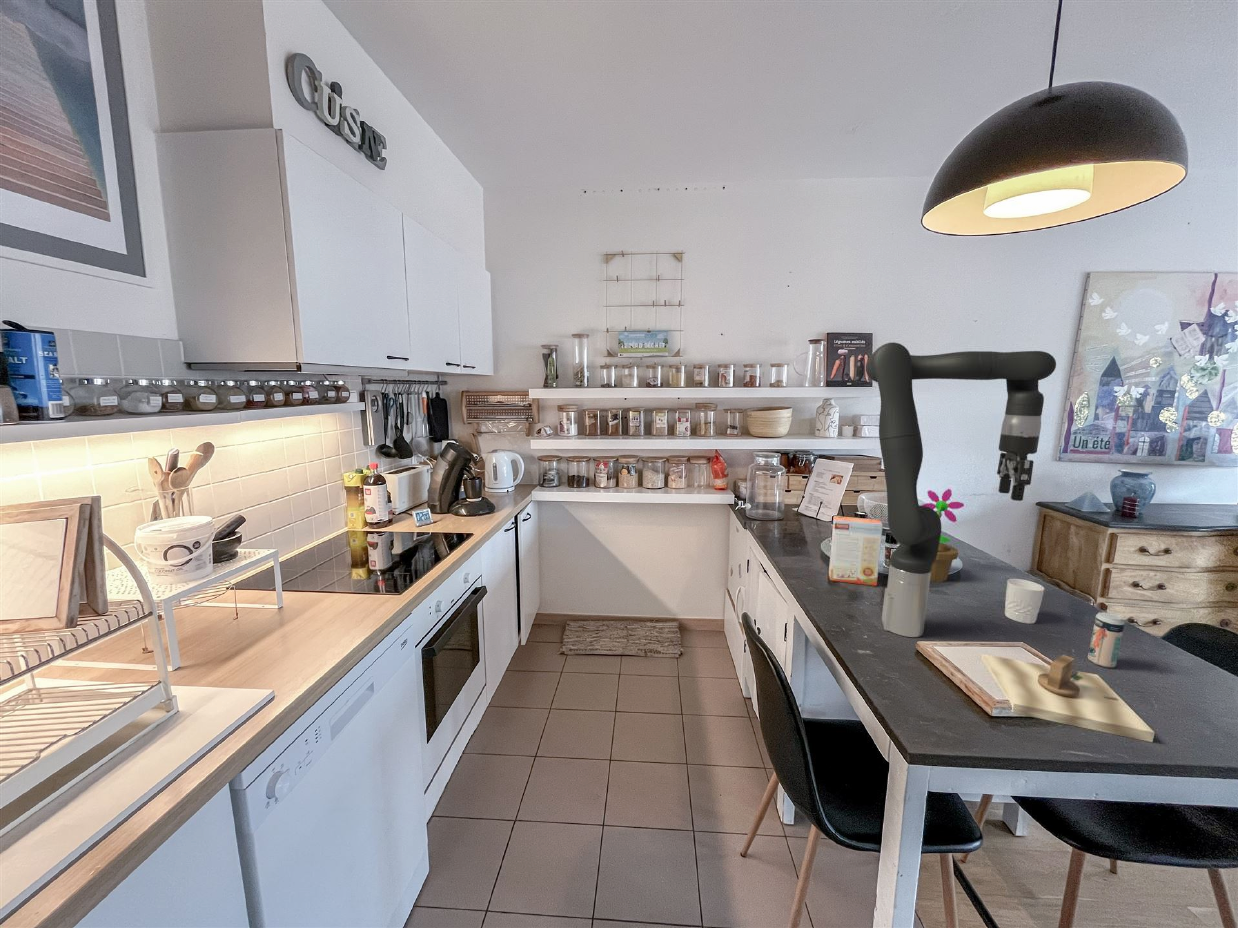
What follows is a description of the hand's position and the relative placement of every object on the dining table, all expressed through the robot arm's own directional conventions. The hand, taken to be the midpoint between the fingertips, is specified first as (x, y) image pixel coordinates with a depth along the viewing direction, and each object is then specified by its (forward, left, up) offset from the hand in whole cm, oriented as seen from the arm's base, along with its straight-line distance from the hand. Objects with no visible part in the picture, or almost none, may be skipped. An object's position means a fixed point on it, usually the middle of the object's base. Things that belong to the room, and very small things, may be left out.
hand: (1009, 496), depth 123 cm
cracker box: (-32, +20, -36) cm, 52 cm away
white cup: (+10, +10, -36) cm, 39 cm away
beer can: (+19, -10, -36) cm, 42 cm away
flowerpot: (-7, +35, -36) cm, 51 cm away
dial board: (+3, -30, -36) cm, 47 cm away
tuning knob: (+5, -28, -34) cm, 44 cm away
